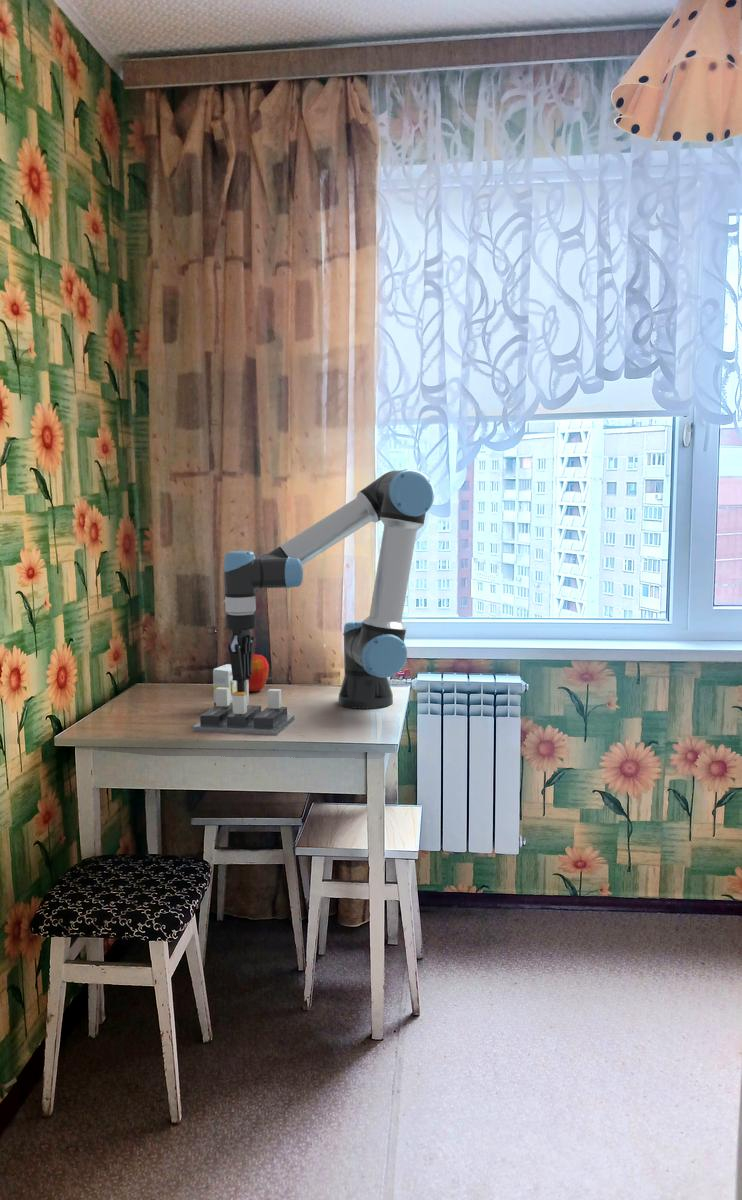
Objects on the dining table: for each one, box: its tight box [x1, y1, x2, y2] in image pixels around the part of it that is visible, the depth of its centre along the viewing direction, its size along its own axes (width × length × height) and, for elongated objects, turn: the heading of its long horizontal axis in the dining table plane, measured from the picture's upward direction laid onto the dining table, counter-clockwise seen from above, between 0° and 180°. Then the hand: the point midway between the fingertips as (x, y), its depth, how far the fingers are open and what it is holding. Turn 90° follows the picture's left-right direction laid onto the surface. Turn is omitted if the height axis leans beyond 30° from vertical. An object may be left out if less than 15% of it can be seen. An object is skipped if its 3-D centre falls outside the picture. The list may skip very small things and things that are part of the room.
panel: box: [191, 704, 296, 736], centre depth 232 cm, size 22×15×4 cm
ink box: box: [212, 663, 237, 707], centre depth 248 cm, size 9×5×12 cm, turn 161°
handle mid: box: [232, 692, 247, 714], centre depth 229 cm, size 3×2×5 cm, turn 78°
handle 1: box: [216, 687, 230, 706], centre depth 237 cm, size 3×2×4 cm, turn 78°
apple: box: [248, 653, 270, 692], centre depth 270 cm, size 9×9×12 cm
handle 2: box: [267, 688, 283, 708], centre depth 234 cm, size 3×2×4 cm, turn 78°
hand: (243, 705), depth 232 cm, fingers closed
